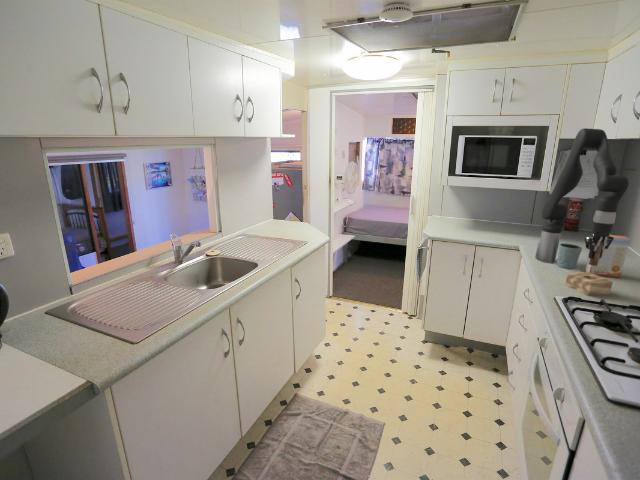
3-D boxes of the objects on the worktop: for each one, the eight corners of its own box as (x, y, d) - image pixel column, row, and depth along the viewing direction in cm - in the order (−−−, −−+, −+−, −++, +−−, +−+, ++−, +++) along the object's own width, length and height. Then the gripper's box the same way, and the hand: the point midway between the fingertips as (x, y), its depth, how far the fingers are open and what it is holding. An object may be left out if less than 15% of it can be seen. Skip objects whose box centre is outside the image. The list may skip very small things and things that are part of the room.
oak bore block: (565, 285, 172) (567, 273, 171) (585, 283, 175) (588, 272, 173) (587, 295, 161) (591, 283, 159) (609, 293, 164) (612, 281, 162)
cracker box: (615, 274, 188) (625, 235, 182) (620, 278, 183) (631, 238, 177) (583, 270, 192) (593, 233, 186) (588, 274, 187) (597, 235, 181)
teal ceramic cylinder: (552, 266, 198) (556, 245, 195) (558, 262, 205) (563, 242, 201) (573, 271, 191) (578, 249, 187) (579, 267, 197) (584, 246, 194)
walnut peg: (587, 263, 166) (592, 240, 163) (592, 263, 166) (598, 240, 163) (593, 265, 163) (599, 242, 160) (599, 265, 163) (605, 242, 160)
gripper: (608, 218, 164) (599, 254, 169) (582, 219, 161) (574, 256, 166) (624, 222, 157) (615, 260, 162) (598, 223, 154) (589, 261, 159)
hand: (594, 257), depth 164 cm, fingers closed on walnut peg, 3 cm apart
